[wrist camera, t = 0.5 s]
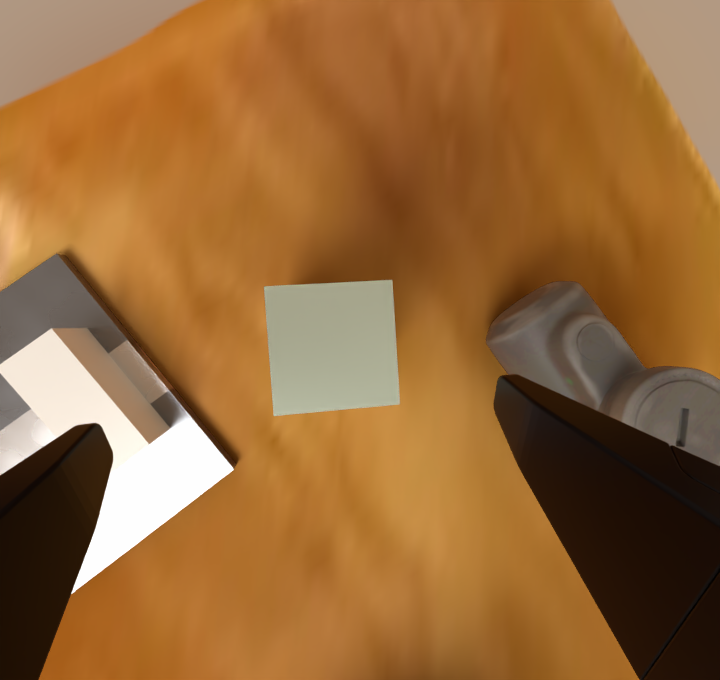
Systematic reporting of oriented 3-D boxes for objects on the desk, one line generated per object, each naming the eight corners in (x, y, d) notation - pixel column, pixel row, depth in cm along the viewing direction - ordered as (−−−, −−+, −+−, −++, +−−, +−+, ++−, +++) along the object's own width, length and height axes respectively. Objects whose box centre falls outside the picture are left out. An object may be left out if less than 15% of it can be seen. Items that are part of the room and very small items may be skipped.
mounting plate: (65, 256, 22) (56, 253, 21) (236, 464, 24) (233, 469, 23) (-198, 436, 21) (-220, 441, 20) (1, 644, 22) (-11, 656, 21)
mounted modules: (86, 327, 22) (51, 328, 19) (170, 428, 22) (149, 444, 19) (-138, 486, 20) (-214, 513, 17) (-42, 586, 21) (-99, 629, 18)
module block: (362, 372, 24) (399, 404, 14) (288, 378, 24) (273, 416, 14) (357, 298, 24) (392, 279, 14) (282, 302, 24) (263, 286, 14)
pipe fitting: (654, 419, 27) (838, 467, 16) (555, 489, 27) (676, 580, 16) (550, 272, 27) (667, 227, 16) (451, 340, 27) (506, 338, 16)
